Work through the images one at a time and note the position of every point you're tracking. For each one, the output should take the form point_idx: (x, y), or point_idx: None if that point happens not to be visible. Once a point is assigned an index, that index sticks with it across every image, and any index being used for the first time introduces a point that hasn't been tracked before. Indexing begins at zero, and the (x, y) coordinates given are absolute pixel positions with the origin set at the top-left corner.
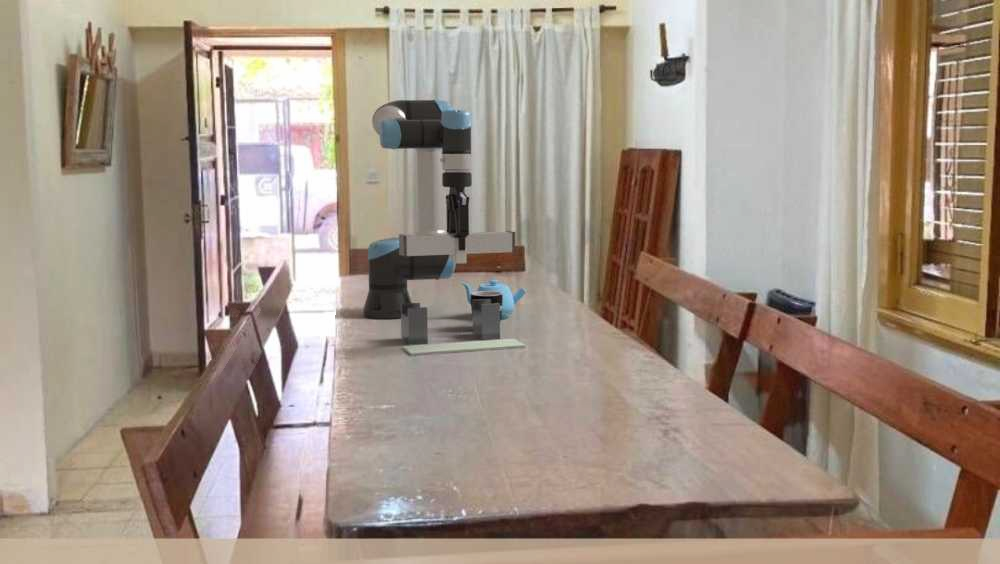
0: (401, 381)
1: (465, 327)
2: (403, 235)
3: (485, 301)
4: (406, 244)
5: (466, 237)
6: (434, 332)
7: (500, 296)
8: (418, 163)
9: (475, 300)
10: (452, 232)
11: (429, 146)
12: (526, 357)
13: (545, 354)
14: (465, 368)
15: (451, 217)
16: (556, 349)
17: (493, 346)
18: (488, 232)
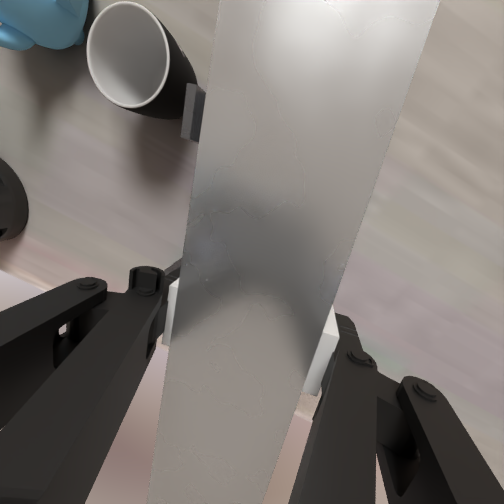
0: (471, 424)
1: (144, 126)
2: None
3: (196, 104)
4: None
5: (362, 351)
6: (165, 204)
7: (164, 28)
8: None
9: (190, 133)
10: (149, 339)
11: None
12: (479, 173)
13: (487, 118)
14: (469, 315)
15: (93, 480)
16: (462, 62)
17: None
18: (249, 58)
